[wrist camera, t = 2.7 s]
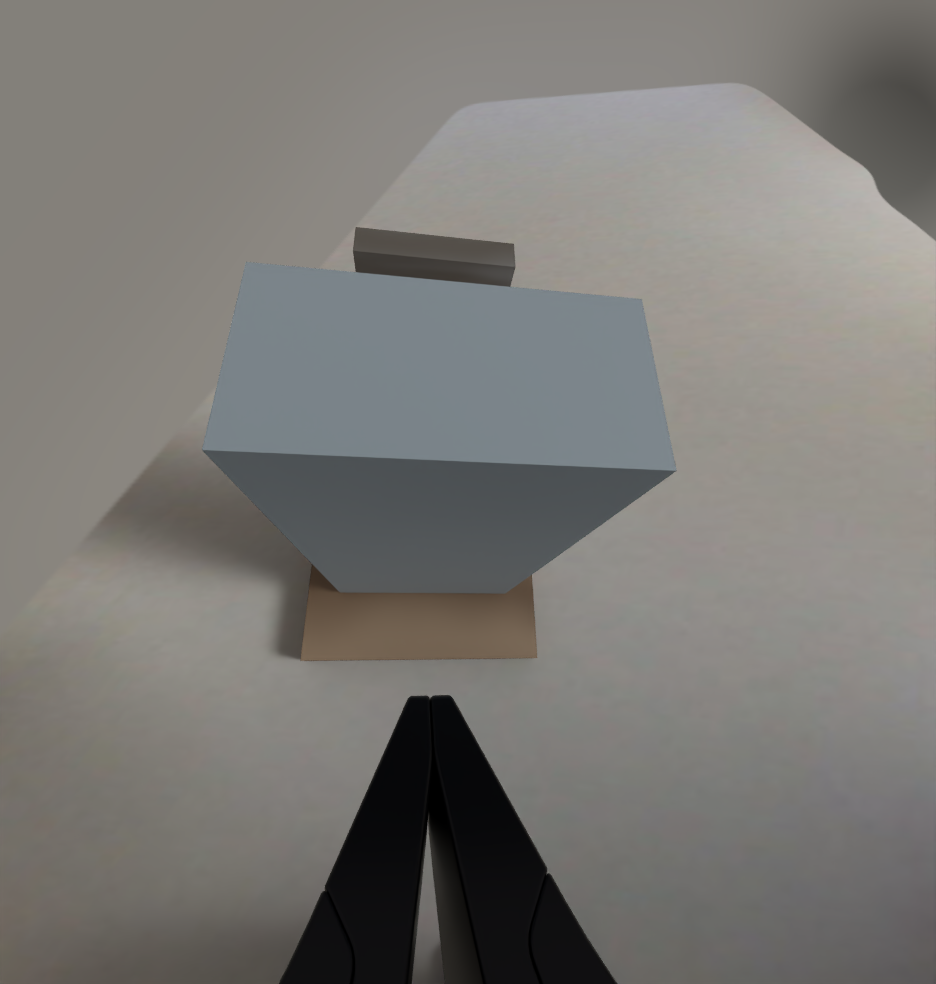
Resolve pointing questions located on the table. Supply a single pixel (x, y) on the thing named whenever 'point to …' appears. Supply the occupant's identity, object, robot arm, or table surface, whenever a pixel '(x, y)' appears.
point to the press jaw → (434, 423)
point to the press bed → (422, 616)
